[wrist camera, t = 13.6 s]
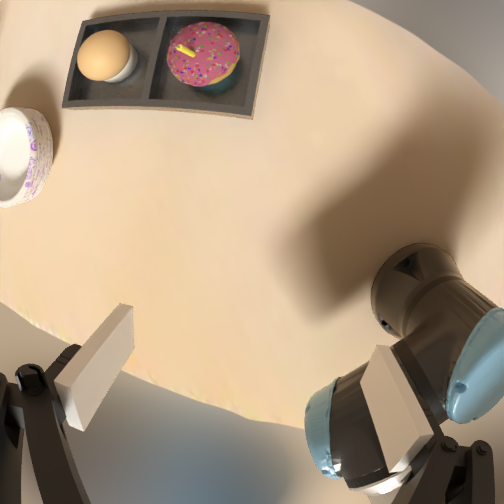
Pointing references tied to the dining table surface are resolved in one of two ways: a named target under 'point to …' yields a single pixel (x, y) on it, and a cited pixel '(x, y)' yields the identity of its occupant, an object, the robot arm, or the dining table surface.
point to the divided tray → (157, 70)
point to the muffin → (107, 57)
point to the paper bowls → (23, 154)
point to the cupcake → (203, 53)
